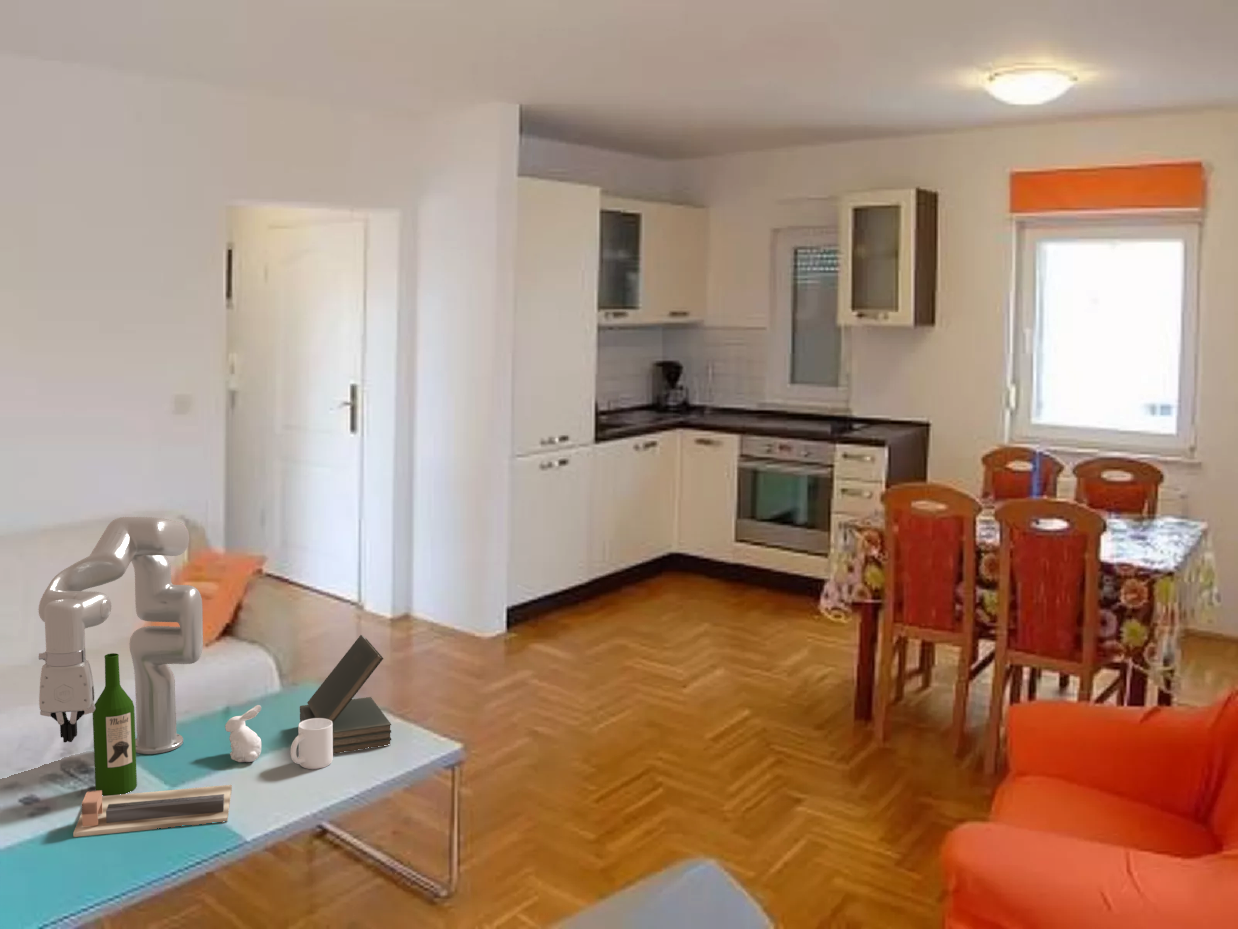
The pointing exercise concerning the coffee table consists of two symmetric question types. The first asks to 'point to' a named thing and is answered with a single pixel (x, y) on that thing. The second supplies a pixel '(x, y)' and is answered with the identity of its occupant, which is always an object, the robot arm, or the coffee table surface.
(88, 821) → the brown arch block
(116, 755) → the wine bottle
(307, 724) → the mug
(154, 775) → the coffee table surface
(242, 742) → the rabbit
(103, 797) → the board
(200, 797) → the bar
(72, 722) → the robot arm
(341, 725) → the stack of books
